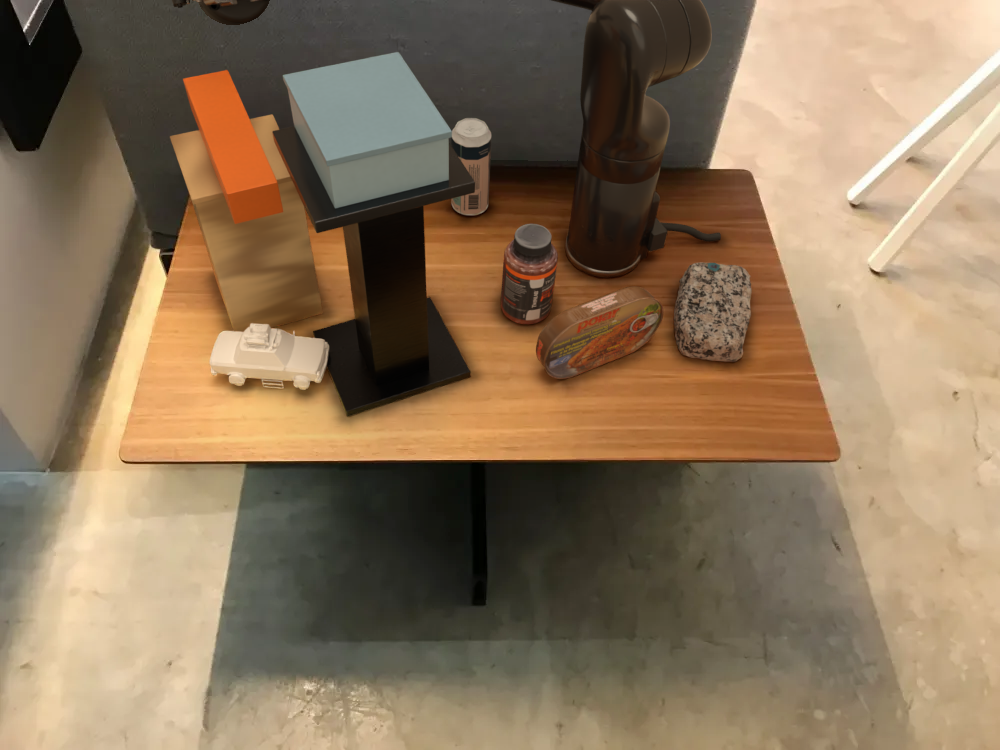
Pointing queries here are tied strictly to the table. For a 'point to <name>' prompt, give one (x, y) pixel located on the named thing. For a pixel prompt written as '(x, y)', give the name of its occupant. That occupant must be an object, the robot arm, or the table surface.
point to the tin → (598, 332)
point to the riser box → (253, 240)
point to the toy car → (269, 356)
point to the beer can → (473, 163)
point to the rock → (713, 311)
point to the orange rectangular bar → (233, 147)
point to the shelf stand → (382, 287)
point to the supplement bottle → (529, 275)
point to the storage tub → (369, 128)
